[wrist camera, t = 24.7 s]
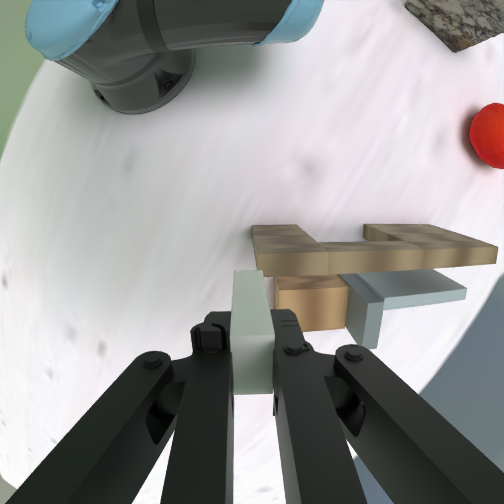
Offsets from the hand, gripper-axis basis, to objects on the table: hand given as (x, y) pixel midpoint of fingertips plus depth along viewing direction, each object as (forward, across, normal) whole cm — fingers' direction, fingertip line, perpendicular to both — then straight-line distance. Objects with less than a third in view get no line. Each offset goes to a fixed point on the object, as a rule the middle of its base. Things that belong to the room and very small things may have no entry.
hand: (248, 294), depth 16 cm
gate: (+24, +21, -10) cm, 33 cm away
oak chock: (+25, +8, -11) cm, 28 cm away
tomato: (+26, +42, +15) cm, 51 cm away
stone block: (+26, +34, +36) cm, 56 cm away
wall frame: (+25, +16, -2) cm, 30 cm away
